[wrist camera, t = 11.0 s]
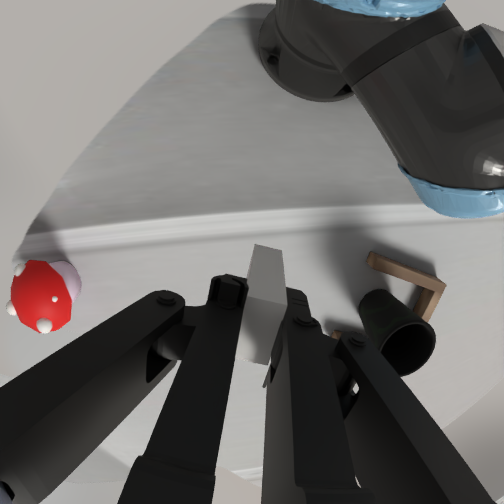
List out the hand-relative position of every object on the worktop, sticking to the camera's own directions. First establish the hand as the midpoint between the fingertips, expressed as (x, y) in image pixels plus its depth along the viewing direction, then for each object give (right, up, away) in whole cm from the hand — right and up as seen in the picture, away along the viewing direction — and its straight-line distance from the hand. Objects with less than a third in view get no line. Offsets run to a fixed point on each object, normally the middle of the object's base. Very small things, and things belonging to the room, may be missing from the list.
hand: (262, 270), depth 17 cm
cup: (+17, -7, +25) cm, 31 cm away
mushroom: (-30, -3, +26) cm, 40 cm away
